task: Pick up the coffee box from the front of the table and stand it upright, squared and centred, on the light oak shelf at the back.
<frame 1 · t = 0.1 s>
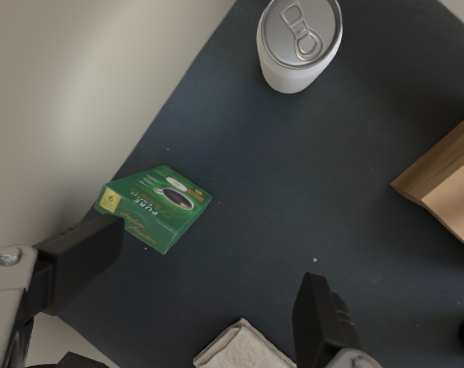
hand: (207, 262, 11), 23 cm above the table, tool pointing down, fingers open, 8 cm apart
can: (290, 65, 30), on the table
coffee box: (184, 186, 36), on the table
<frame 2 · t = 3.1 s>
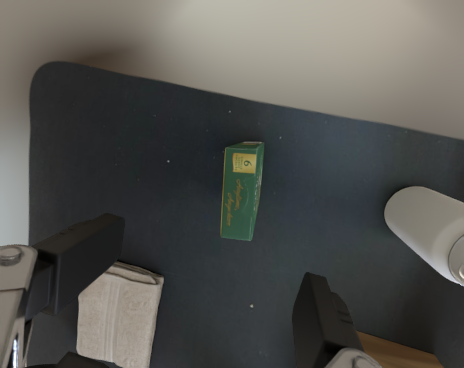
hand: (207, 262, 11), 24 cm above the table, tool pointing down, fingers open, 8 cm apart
washcloth: (125, 309, 42), on the table
can: (410, 210, 32), on the table
coffee box: (251, 170, 34), on the table
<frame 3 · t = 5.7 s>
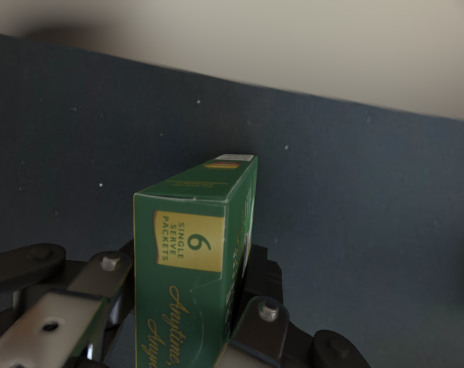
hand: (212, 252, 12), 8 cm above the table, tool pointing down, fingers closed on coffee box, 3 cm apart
coffee box: (237, 202, 20), on the table, touching gripper
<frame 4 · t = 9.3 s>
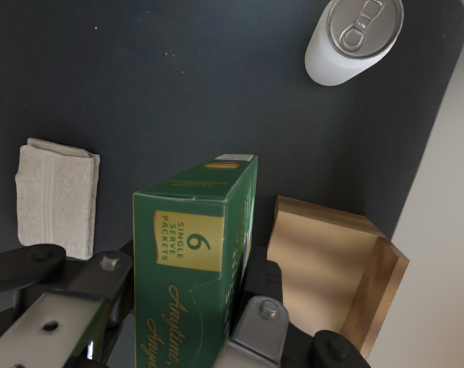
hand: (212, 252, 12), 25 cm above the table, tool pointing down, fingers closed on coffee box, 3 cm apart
shelf: (304, 256, 38), on the table
washcloth: (66, 198, 42), on the table
can: (331, 59, 32), on the table
coffee box: (237, 201, 20), point 17 cm above the table, touching gripper
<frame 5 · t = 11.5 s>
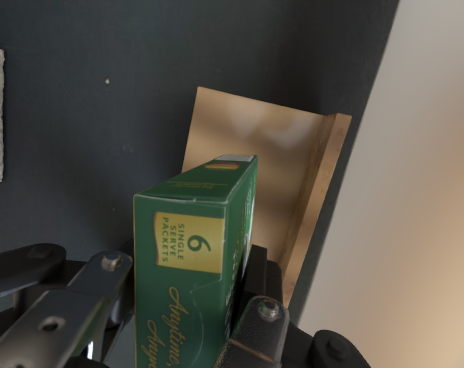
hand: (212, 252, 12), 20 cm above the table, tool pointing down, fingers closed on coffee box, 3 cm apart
shelf: (248, 176, 31), on the table
coffee box: (237, 202, 20), point 11 cm above the table, touching gripper
when the fingers open (15 cm above the table, at t = 12.9 s): coffee box stays where it is, resting on shelf.
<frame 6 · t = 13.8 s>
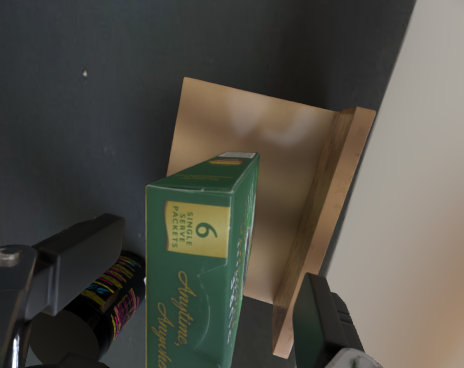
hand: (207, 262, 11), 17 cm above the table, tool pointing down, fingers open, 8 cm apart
shelf: (246, 181, 27), on the table
coffee box: (239, 198, 21), point 7 cm above the table, touching shelf
supplement container: (129, 274, 32), on the table
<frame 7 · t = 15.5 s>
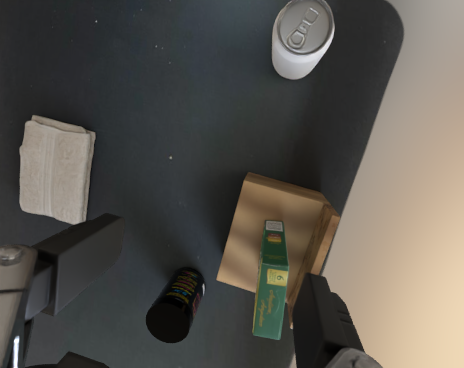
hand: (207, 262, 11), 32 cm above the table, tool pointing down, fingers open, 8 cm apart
shelf: (270, 226, 44), on the table
washcloth: (64, 170, 48), on the table
can: (294, 56, 38), on the table
coffee box: (270, 244, 38), point 7 cm above the table, touching shelf
supplement container: (189, 282, 49), on the table
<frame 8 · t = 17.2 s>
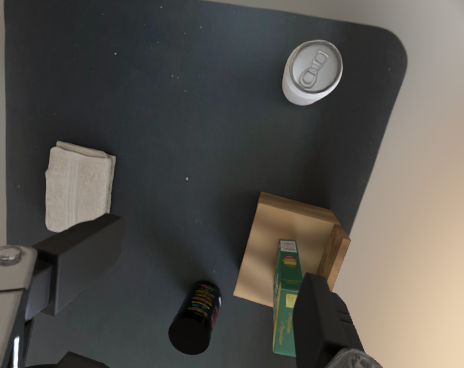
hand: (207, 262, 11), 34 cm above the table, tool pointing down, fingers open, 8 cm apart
shelf: (282, 242, 47), on the table
washcloth: (86, 191, 51), on the table
can: (303, 84, 41), on the table
coffee box: (284, 261, 40), point 7 cm above the table, touching shelf
supplement container: (205, 294, 51), on the table
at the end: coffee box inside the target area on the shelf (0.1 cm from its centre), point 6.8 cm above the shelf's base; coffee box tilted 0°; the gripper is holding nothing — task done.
